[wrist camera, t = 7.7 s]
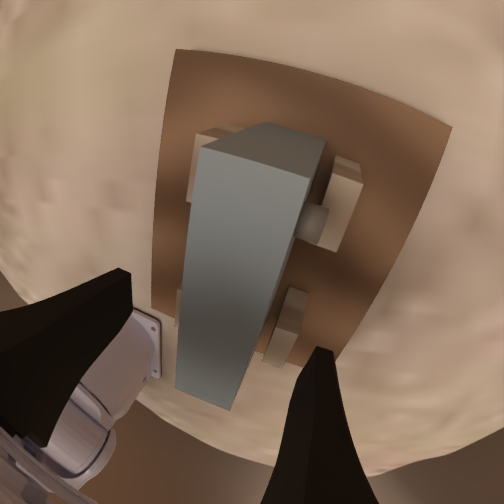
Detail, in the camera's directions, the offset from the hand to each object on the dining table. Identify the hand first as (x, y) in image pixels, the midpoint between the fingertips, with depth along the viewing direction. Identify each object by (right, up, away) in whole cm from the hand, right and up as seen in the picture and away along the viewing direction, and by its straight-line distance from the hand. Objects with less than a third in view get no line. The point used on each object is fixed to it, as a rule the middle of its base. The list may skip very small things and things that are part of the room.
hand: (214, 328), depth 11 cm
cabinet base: (+3, +4, +7) cm, 9 cm away
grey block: (+2, +4, +6) cm, 7 cm away
